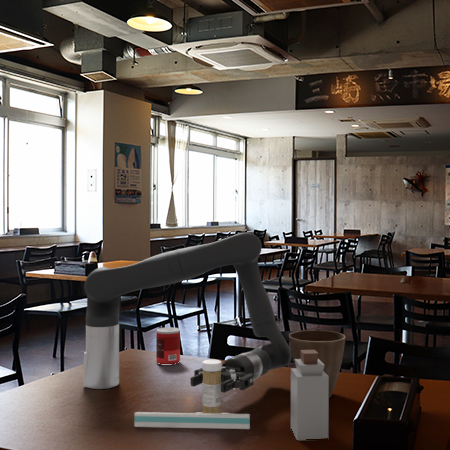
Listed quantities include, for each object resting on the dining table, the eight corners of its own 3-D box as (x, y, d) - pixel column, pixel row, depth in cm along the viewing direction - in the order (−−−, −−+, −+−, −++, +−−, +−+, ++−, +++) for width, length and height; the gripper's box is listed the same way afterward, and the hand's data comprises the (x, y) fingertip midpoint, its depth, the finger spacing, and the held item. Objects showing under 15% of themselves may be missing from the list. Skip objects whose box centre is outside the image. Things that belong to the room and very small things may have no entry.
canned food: (183, 360, 180) (183, 328, 180) (173, 366, 173) (173, 332, 173) (162, 359, 183) (163, 326, 183) (152, 364, 175) (152, 331, 175)
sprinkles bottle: (213, 413, 130) (213, 357, 130) (225, 418, 126) (225, 361, 126) (197, 417, 127) (198, 360, 127) (209, 423, 123) (210, 364, 123)
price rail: (134, 426, 121) (134, 413, 121) (142, 412, 131) (143, 399, 131) (249, 429, 120) (249, 415, 120) (249, 413, 130) (249, 401, 130)
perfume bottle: (290, 428, 121) (290, 348, 121) (320, 427, 121) (320, 347, 121) (297, 440, 114) (297, 355, 114) (328, 439, 115) (328, 355, 115)
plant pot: (300, 406, 136) (300, 342, 136) (281, 388, 150) (281, 331, 150) (355, 402, 139) (355, 340, 139) (331, 385, 153) (331, 329, 153)
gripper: (219, 351, 142) (182, 364, 128) (267, 358, 134) (232, 373, 121) (219, 379, 142) (182, 396, 128) (267, 388, 134) (232, 407, 121)
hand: (206, 385), depth 125 cm, fingers open, 8 cm apart
